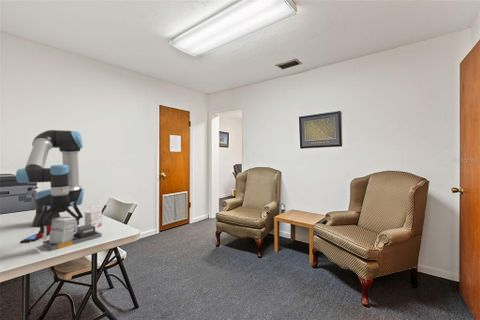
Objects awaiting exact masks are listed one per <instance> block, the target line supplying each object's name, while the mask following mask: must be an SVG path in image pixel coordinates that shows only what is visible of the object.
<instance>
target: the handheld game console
mask: <svg viewBox="0 0 480 320" xmlns="http://www.w3.org/2000/svg"><path fill="white" fill-rule="evenodd" d="M51 225H52V224H51ZM51 225H49V226H46V235H47V237H48V236H50V232H51ZM40 239H43V233H40V230H39V231H38V233H35V234H32V235H31V236H28V237H27V238H24V239H22V240H20V241H19V243H20V244H28V243H31V242H32V243H33V242H36V241H38V240H40Z"/></svg>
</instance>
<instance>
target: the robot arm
mask: <svg viewBox="0 0 480 320" xmlns="http://www.w3.org/2000/svg"><path fill="white" fill-rule="evenodd" d="M31 146H32V149H31V151H30V154H29V156H28V159H27V162H26V164H25V167H23V168H18V169H17V170H16V174H15V178H16V182H17V183H18V184H33V183H34V184H35V183H50V188H49V189H45V190H39V191H36V192H35V199H34V200H35V216H34V217H33V220H32V227H35V228H36V227H38V228H39V231H40V233H43V238H42V240H45V241H47V237H48V236H47V235H46V227H47V226H49V225H51V224H52V219H54V218H58V217H62V216H61V214H60V213H65V212H67V213H68V215H70V217H74V218H76V220H75V228H74V233H76V232H77V227H78V226H79V225H80V220H81V219H82V218H83V217H84V216H83V214H82V212H81V210H80V209H79V207H78V206H81V205H82V204H83V201H84V200H83V199H84V193H85V192H84V191H85V189H84V188H82V186H81V185H80V179H79V178H80V176H79V152H81V149H83V148H84V145H83V140H82V134H81V133H80V131H76V130H59V129H57V130H56V129H50V130H45V131H43V132H40V133H39V134H37V135H36V136H35V137H34V138H33V140H32V143H31ZM52 148H53V149H54V148H57V149H58V151H59V152H60V153H61V154H62V164H52V165H51V166H50V167H46V168H45V165H46V162H47V158H48V155H49V151H50V150H52ZM70 207H72V209H74V212H75V213H74V212H73V211H72V210H71V209H70ZM76 214H77V215H76Z"/></svg>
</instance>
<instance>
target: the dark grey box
mask: <svg viewBox="0 0 480 320" xmlns="http://www.w3.org/2000/svg"><path fill="white" fill-rule="evenodd" d="M95 231H96V229H95V226H93V225H90V224H89V225H85V224H84V225H81V226H77V232H75V233H76V238H78V239H80V238H84V237H88V236H91V235H95Z"/></svg>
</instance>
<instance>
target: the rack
mask: <svg viewBox="0 0 480 320" xmlns="http://www.w3.org/2000/svg"><path fill="white" fill-rule="evenodd" d="M101 237H102V233H101V232H99V231H97V230H95V235H91V236H88V237H84V238H80V239H78V238H76V232H74V236H73V241H68V242H64V243H60V244H52V243H49V240H50V239H48V240H47V239H46V240H45V241H42V246H44V247H45V248H47V250H49V251H56V250H60V249H63V248H68V247H70V246H74V245H76V244H81V243H85V242H88V241H91V240H95V239H98V238H101Z"/></svg>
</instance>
